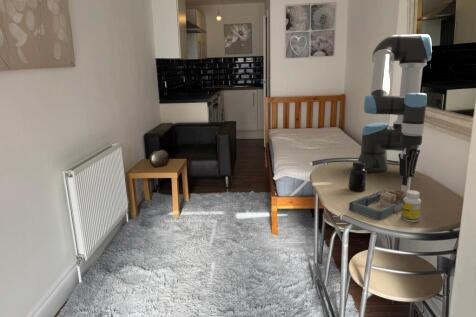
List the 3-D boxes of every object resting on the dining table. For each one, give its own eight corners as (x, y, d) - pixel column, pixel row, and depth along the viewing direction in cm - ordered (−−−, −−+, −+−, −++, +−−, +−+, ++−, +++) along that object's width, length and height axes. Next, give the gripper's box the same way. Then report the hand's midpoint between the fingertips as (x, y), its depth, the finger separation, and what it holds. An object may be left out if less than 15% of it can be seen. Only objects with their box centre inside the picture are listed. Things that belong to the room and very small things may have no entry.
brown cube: (393, 198, 142) (394, 188, 141) (403, 201, 139) (404, 191, 138) (387, 200, 139) (388, 190, 139) (397, 203, 136) (398, 193, 136)
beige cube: (385, 201, 138) (386, 192, 137) (395, 204, 135) (396, 194, 134) (379, 204, 136) (380, 194, 135) (389, 207, 133) (390, 197, 132)
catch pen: (365, 203, 137) (366, 195, 136) (395, 212, 128) (396, 204, 127) (349, 210, 130) (349, 202, 129) (379, 220, 121) (380, 212, 121)
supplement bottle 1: (366, 192, 148) (368, 164, 145) (349, 191, 149) (351, 163, 146) (364, 187, 155) (366, 160, 152) (347, 186, 156) (349, 159, 153)
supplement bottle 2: (398, 216, 125) (401, 189, 122) (413, 215, 125) (416, 189, 123) (406, 222, 119) (409, 195, 117) (422, 222, 120) (425, 194, 117)
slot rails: (382, 195, 144) (382, 190, 144) (412, 204, 135) (412, 198, 135) (362, 204, 136) (363, 197, 135) (393, 213, 127) (393, 207, 126)
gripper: (410, 130, 144) (403, 186, 150) (393, 134, 136) (387, 193, 142) (429, 133, 138) (422, 191, 144) (413, 137, 130) (406, 198, 136)
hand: (405, 192), depth 143 cm, fingers closed
